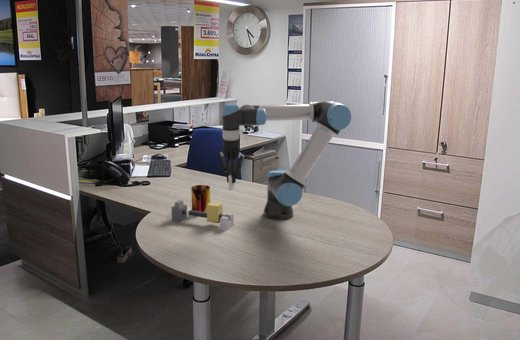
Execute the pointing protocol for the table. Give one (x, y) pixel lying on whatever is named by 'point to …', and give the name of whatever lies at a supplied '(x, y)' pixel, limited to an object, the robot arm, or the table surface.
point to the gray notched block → (226, 222)
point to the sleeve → (214, 212)
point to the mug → (200, 197)
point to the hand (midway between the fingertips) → (231, 189)
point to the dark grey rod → (198, 213)
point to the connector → (178, 211)
